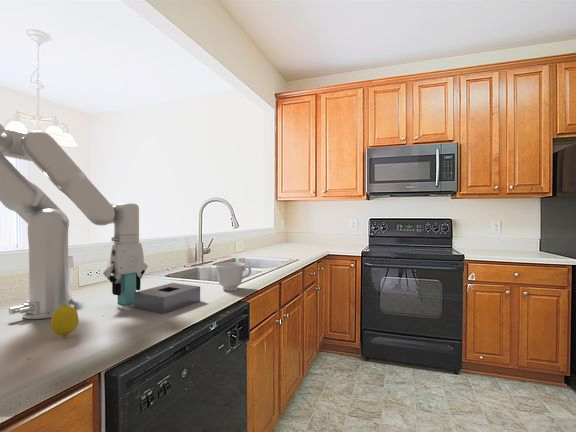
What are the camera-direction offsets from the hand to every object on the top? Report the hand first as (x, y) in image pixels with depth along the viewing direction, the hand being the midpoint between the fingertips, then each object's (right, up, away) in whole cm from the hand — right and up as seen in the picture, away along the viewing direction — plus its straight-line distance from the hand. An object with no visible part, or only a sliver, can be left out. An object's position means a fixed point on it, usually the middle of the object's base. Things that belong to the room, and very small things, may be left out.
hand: (126, 291), depth 108 cm
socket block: (+15, -4, -2) cm, 15 cm away
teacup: (+33, -4, +20) cm, 38 cm away
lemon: (0, -4, -30) cm, 30 cm away
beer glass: (-24, -4, +3) cm, 25 cm away
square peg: (0, -4, 0) cm, 4 cm away
